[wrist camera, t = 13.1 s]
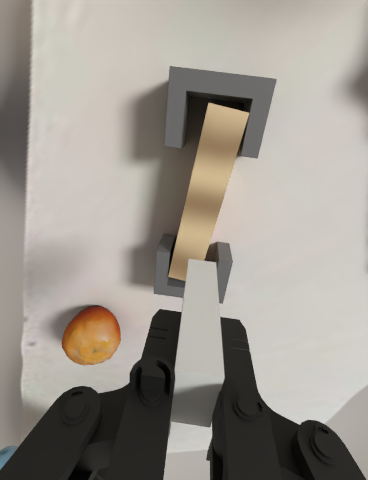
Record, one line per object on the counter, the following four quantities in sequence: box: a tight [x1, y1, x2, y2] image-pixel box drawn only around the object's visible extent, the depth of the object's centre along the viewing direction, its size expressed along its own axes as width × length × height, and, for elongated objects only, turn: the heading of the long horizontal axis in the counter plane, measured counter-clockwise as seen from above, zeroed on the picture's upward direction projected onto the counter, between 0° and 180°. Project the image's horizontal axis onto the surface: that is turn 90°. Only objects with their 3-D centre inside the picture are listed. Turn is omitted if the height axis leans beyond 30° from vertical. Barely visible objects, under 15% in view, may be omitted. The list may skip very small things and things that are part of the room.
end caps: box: [154, 66, 276, 304], centre depth 26 cm, size 23×8×4 cm, turn 173°
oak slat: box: [168, 103, 249, 281], centre depth 26 cm, size 18×4×5 cm, turn 167°
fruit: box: [62, 306, 121, 365], centre depth 36 cm, size 8×8×8 cm
